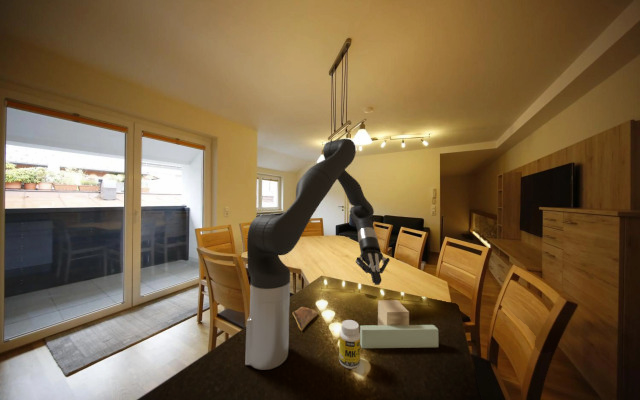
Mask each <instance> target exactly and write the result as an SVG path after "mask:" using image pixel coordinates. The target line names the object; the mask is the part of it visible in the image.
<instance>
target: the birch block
mask: <svg viewBox="0 0 640 400" xmlns="http://www.w3.org/2000/svg"><path fill="white" fill-rule="evenodd" d="M377 313H378V314H377V325H410V311H409V310H408V309H407V308H406V307H405V306H404V305H403V304H402V303H401V302H400V301H399V300H398V299H394V300H392V299H389V300H387V299H386V300H383V299H378V300H377Z"/></svg>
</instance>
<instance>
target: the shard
mask: <svg viewBox="0 0 640 400" xmlns="http://www.w3.org/2000/svg"><path fill="white" fill-rule="evenodd" d="M318 315H319V312H318V311H316V310H315V309H312V308H309V307H305V306H301V307H299V308H298V309H296V310H295V311H292V316H293V318H294V319H295V321H296V323H297V327H298V329H299V330H300V331H301V332H303V331H304V330H305V328H306V326H307V325H308V324H309V323H310V322H311V321H312V320H314V319H315V318H317V316H318Z"/></svg>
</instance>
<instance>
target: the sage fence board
mask: <svg viewBox="0 0 640 400" xmlns="http://www.w3.org/2000/svg"><path fill="white" fill-rule="evenodd" d="M359 333H360V348H361V349H397V348H399V349H401V348H403V349H405V348H406V349H407V348H408V349H410V348H439V329H438V327H436V325H434V324H409V325H378V324H377V325H376V324H375V325H372V324H371V325H370V324H369V325H366V324H365V325H359Z"/></svg>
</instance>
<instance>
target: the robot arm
mask: <svg viewBox="0 0 640 400" xmlns="http://www.w3.org/2000/svg"><path fill="white" fill-rule="evenodd" d="M356 153H357V152H356V145H355V143H354V141H353V140H352V139H350V138H340V139H336V140H331V141H328V142H326V143H324V146H323V149H322V154H323V158H324V159H323V160H321V161H319V162H318V163H316V164H314V165H313V166H311V167H309V168H308V170H306V172H305V173H304V174H303V175H302V176H301V177H300V178H299V180H298V182H297V184H296V187H295V200H294V201H293V202H292V204H291V205H290V206H289V207H288V208H287V209H286V210H285V212H283V213H282V214H280V215H278V214H277V215H276V214H260V215H258V216H256V217H255V218H254V219H253V220H252V221H251V223H250V224H249V227H248V231H247V239H246V241H247V242H246V245H247V246H246V248H247V249H246V251H247V256H246V257H247V262H246V263H247V270H248V273H249V276H250V293H249V294H250V296H249V297H250V298H249V299H250V300H249V315H248V318H247V320H246V325H245V326H246V330H245V331H246V332H245V333H246V335H245V354H244V355H245V356H244V357H245V358H244V359H245V361H244V363H245V364H244V365H245V366H251V367H252V368H253V369H256V370H260V371H263V370H264V371H266V370H272V369H275V368H277V367H279V366H281V365H282V364H283V363H284V362H285V361H286V360H287V358H288V356H289V339H290V337H289V334H290V330H289V329H290V303H291V302H290V300H291V299H290V295H291V293H290V292H291V270H290V269H289V267H288V266H287V265H286V264H285V263H284V262H283V261H282V260H281V259H280V256H285V255H287V254H289V253H291V251H293V249H294V248H295V247H296V246H297V244H298V243H299V241H300V239H301V237H302V235H303V234H304V232H305V230H306V227H308V223H309V222H310V220H311V219H312V216H313V215H314V213H315V212H316V210H317V209H318V208H319V206H320V204H321V203H322V201H323V200H324V199H325V197H326V196H327V195H328V194H329V192H330V190H331V189H332V187H333V185H334V184H335V183H336V182H337V181H338V182H339V184H340V185H341V187H342V189H343V191H344V193H345V195H346V198H347V201H348V203H349V204H350V205H351V206H352V207H351V208H350V210H349V213H350V214H349V215H350V217H351V218H352V220H353V222H354V224H355V226H356V230H357V231H356V232H357V239H358V240H357V241H358V245H359V250H360V255H359V256H358V257H356V260H355V264H356V265H358V267H360V269H362V270H363V272H364V273H366V274H370V276H371V281H372V283H373V284H374V286H379V285H380V284H381V282H382V276H381V274H383V272H385V270H386V267H387V265H388V264H389V263H390V261H391V260H390V258H389V257H384V254H383V253H382V252H381V248H380V247H381V246H380V243H379V239H378V236H377V232H376V230H375V228H374V227H375V226H374V223H373V221H372V220H371V219H370V218H371V217H373V215H374V213H375V212H374V211H375V210H374V208H373V206H372V204H371V203H370V202H369V201H368V199H367V198H366V196H365V195H364V192H363V189H362V186H361V184H360V183H359V182H358V180H356V179H355V178H354V177H353V176H352V175H351V174H349V173H348V172H347V170H346V169H347V168H348V167H349V166H350V165H352V162H354V159H355V156H356ZM381 261H382V266H381V267H380V263H381Z"/></svg>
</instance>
